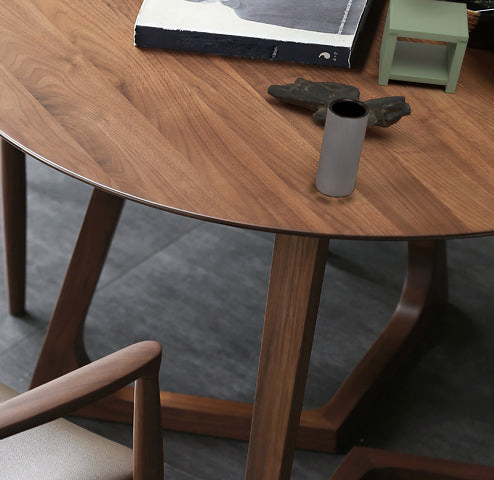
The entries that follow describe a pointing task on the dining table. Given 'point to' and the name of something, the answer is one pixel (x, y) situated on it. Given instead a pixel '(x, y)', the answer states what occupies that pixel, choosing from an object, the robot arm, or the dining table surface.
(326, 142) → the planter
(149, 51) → the dining table surface
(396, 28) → the rack
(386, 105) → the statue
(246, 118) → the dining table surface
